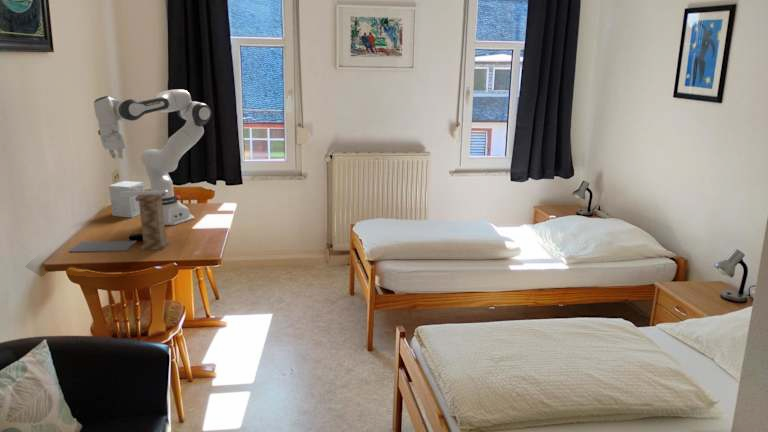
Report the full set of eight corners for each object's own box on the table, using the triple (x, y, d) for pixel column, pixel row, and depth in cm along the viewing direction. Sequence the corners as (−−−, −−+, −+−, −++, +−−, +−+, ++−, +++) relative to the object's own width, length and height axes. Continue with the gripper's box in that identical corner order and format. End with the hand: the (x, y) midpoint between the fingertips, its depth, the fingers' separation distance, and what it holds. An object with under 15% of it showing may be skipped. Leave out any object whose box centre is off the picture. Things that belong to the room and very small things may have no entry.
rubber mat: (69, 252, 282) (69, 251, 282) (81, 242, 296) (81, 241, 295) (126, 251, 284) (126, 250, 284) (136, 241, 297) (136, 240, 297)
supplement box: (147, 211, 351) (143, 181, 346) (132, 217, 338) (128, 187, 334) (127, 210, 354) (123, 180, 349) (111, 216, 342) (108, 185, 337)
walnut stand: (141, 249, 286) (135, 197, 279) (147, 242, 296) (142, 192, 289) (163, 249, 287) (157, 197, 280) (169, 242, 296) (164, 192, 289)
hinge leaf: (119, 196, 282) (119, 191, 281) (122, 194, 285) (122, 189, 285) (167, 195, 283) (166, 191, 282) (169, 193, 287) (168, 189, 286)
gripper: (124, 129, 292) (131, 157, 296) (109, 129, 307) (116, 156, 311) (110, 131, 288) (118, 160, 292) (96, 131, 303) (104, 159, 307)
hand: (117, 158), depth 302 cm, fingers open, 8 cm apart
